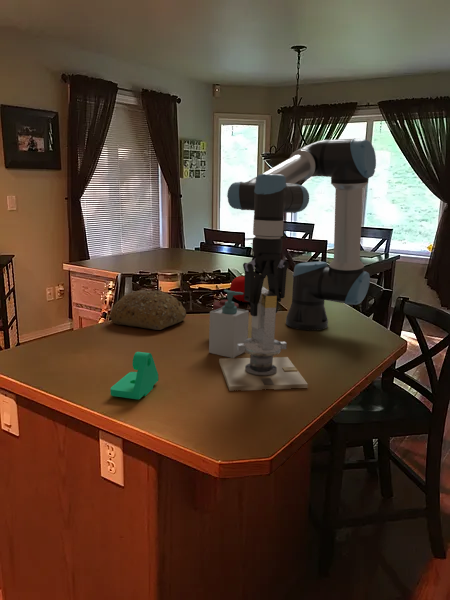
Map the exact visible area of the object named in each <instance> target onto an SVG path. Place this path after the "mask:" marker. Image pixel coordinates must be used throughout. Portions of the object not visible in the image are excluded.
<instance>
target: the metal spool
mask: <svg viewBox="0 0 450 600" xmlns="http://www.w3.org/2000/svg"><path fill="white" fill-rule="evenodd" d="M249 355H250V354H249ZM273 357H274V356H255V355H250V357H249V358H250V364H247V365H246V366H245V371H246V372H247V373H249V374H251V375H254V376H271V375H274V374H275V373H276V372H277V368H276V366H274V365H272V363H273Z"/></svg>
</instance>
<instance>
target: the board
mask: <svg viewBox="0 0 450 600" xmlns="http://www.w3.org/2000/svg"><path fill="white" fill-rule="evenodd" d="M218 364H219V366H220V368H221V371H222V374H223V378H224V380H225V383H226V385H227V388H228V390H229V392H233V391H234V390H235V391H236V390H237V391H238V390H241V391H263V390H262V389H265V390H264V391H266V389H274V390H292V389H291V388H307V389H308V386H309V383H307V381H306V380H305V378H304V377H303V376H302V374H301V373H300V371H299V370H298V368H297V367H296V366H295V365H294V364H293V363H292V361H291V359H290V358H289V357H288V356H283V357H282V356H281V357H280V356H278V357H277V356H275V357H274V356H273V363H272V365H274V366H276V368H277V372H276V373H275V374H274V375H271V376H254V375H251V374H249V373H247V372H246V371H245V366H246V365H247V364H250V357H235V358H230V357H225V358H221V357H220V358H219V360H218Z"/></svg>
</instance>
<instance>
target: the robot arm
mask: <svg viewBox="0 0 450 600" xmlns="http://www.w3.org/2000/svg"><path fill="white" fill-rule="evenodd" d="M376 157H377V155H376V152H375V148H374V145H373V144H372V142H370V141H369V140H368V139H365V138H343V139H342V138H341V139H337V138H335V139H321V140H317V141H315V142H312V143H310V144H307V145H305V146H302V147H300V148H298V149H297V150H295V151H293V152H292V153H291V154H290V156H289V157H288V158H287V159H285V160H284V161H282V162H280V163H278V164H277V165H275V166H273V167H271V168H269V169H268V170H266V171H264V172H262V173H260V174H257V175H256V176H255V177H254V178H251V179H250V180H248V181H245V182H244V181H237V182H233V183H232V184H230V186H228V190H227V194H226V195H227V196H226V197H227V202H228V205H229V206H230V207H231V208H233V209H235V210H241V211H253V212H254V214H253V223H252V225H253V227H252V228H253V229H252V235H254V237H253V238H252V247H251V250H252V253H253V257H252V258H251V261H249V262H244V263H243V264H242V268H243V270H244V271H243V272H244V275H245V283H244V300H245V301H248V302H247V303H249V304H250V307H249V309H250V310H249V312H250V313H249V314H250V316H251V328H252V327H254V328H256V329H260V325H261V304H259V300H260V295H261V291H262V287H264V286H263V285H264V281H265V279H266V278H267V284H268V285H267V286H268V290H269V291H270V292H272V293H273V294H275V295H276V296H277V303H276V314H277V313H278V306H279V303H280V302H282V299H284V298H285V296H286V295H285V294H286V284H287V270H288V267H289V265H290V264H289V263H290V262H289V261H288V260H284V259H282V258H281V253H282V251H283V239H282V238H281V237H283V235H284V217H285V215H284V214H285V213H288V214H291V213H292V214H296V213H300V212H302V211H304V210H305V209H306V208H307V207H308V205H309V202H310V193H309V191H308V188H306V187H305V186H304V185H302V184H298V182H299V181H302V180H307V179H310V178H312V177H313V178H314V177H327V178H330V184H331V185H332V186H333V188H335V194H334V195H335V198H334V199H335V200H334V204H335V205H334V232H333V233H334V235H333V236H334V237H333V260H332V261H331V262H330V263H329V264H328V263H327V262H326V261H307V262H305V261H304V262H300V263H296V264H295V265H294V268H293V275H292V278H293V279H292V281H293V282H292V295H291V304H290V307H289V309H288V312H287V313H286V317H285V324H286V325H287V326H288V327H290V328H292V329H297V330H300V331H301V330H302V331H319V330H321V331H322V330H325V329H327V328H328V322H329V319H328V315H327V312H326V307H325V301H329V302H335V303H340V304H344V305H355V306H357V305H359V304H361V302H363V300H364V299H365V298H366V295H367V294H368V290H369V287H370V282H371V276H370V273H369V272H367V271H365V264H364V263H363V262H362V261H361V259H360V258H361V240H362V239H361V238H362V237H361V236H362V216H363V214H362V213H363V197H364V196H363V193H364V191H363V190H364V187H366V185H368V183H369V179H370V178H372V177H373V176H374V174H375V172H376V168H377V166H376V165H377V159H376ZM276 316H277V315H276ZM276 316H275V319H276Z"/></svg>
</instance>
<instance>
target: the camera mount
mask: <svg viewBox="0 0 450 600" xmlns="http://www.w3.org/2000/svg"><path fill="white" fill-rule="evenodd" d="M132 368H133V370H134V371H130V372H128V373H127V374H126V375H124V376H123V377H122V378H120V379H119V380H118V381H117V382H116V383H114V384H113V385H112V386H111V387H110V392H109V393H110V396H112V397H119V398H125V399H132V400H139V401H140V399H141V398H142V397H143V396H146V395H147V394H148V393H149V392H150V391H151V390H152V389H153V390H154V385H155V384H157V383H158V382H159V373H158V370H157V366H156V364H155V360H154V356H153V354H152V353H151V352H142V351H136V352H134V355H133V357H132ZM153 390H152V391H153ZM152 391H151V392H152ZM151 392H150V393H151ZM150 393H149V394H150ZM149 394H148V395H149ZM148 395H147V396H148ZM147 396H146V397H147Z"/></svg>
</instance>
